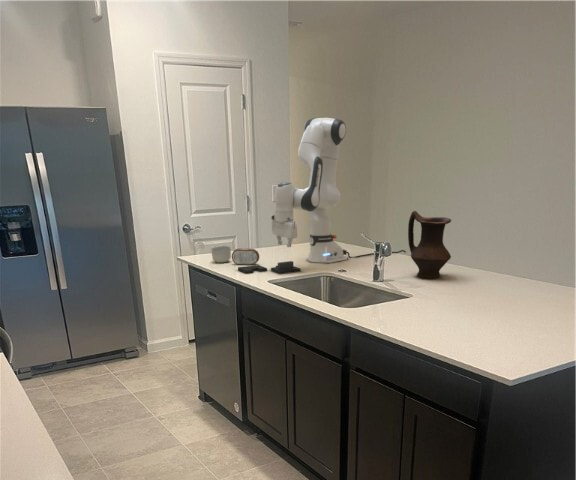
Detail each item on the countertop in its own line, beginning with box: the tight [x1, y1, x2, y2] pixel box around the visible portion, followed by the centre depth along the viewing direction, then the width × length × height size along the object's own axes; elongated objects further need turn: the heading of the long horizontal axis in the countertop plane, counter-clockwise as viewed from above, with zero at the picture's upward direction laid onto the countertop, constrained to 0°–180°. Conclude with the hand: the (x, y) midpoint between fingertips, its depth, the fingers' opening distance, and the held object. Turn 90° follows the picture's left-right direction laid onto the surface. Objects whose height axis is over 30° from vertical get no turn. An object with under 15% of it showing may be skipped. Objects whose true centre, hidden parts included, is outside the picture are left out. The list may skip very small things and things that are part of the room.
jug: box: [407, 210, 452, 280], centre depth 258 cm, size 21×18×30 cm
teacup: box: [210, 245, 232, 264], centre depth 306 cm, size 14×11×8 cm
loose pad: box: [270, 260, 301, 275], centre depth 281 cm, size 12×13×4 cm
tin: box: [231, 248, 260, 266], centre depth 297 cm, size 15×3×8 cm, turn 84°
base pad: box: [237, 264, 268, 275], centre depth 283 cm, size 12×10×2 cm
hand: (284, 245), depth 276 cm, fingers open, 8 cm apart
